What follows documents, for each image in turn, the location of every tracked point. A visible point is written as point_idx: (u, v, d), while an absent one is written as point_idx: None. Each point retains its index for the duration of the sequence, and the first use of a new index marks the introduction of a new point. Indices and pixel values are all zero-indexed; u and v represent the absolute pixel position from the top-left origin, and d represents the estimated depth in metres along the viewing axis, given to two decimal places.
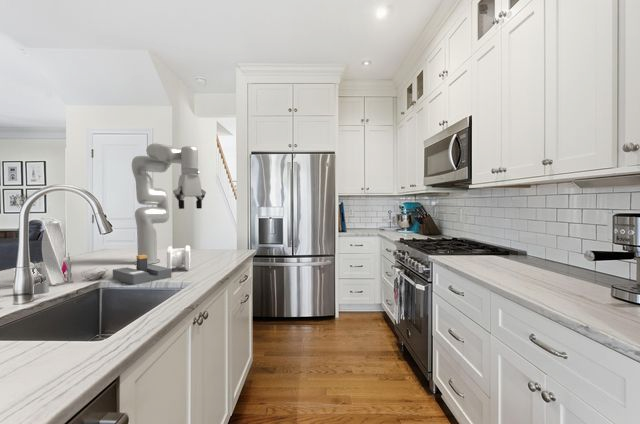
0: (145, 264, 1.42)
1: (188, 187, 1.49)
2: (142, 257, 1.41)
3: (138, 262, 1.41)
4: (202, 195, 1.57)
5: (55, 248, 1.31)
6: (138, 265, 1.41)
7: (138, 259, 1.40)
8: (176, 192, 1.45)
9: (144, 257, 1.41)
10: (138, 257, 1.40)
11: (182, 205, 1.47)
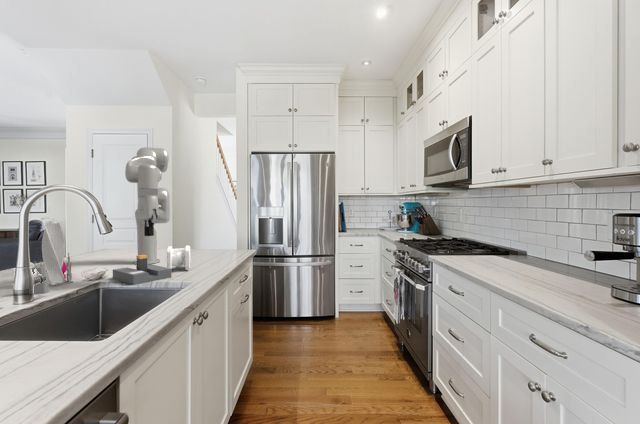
0: (145, 264, 1.42)
1: None
2: (142, 257, 1.41)
3: (138, 262, 1.41)
4: None
5: (55, 248, 1.31)
6: (138, 265, 1.41)
7: (138, 259, 1.40)
8: None
9: (144, 257, 1.41)
10: (138, 257, 1.40)
11: (152, 232, 1.38)
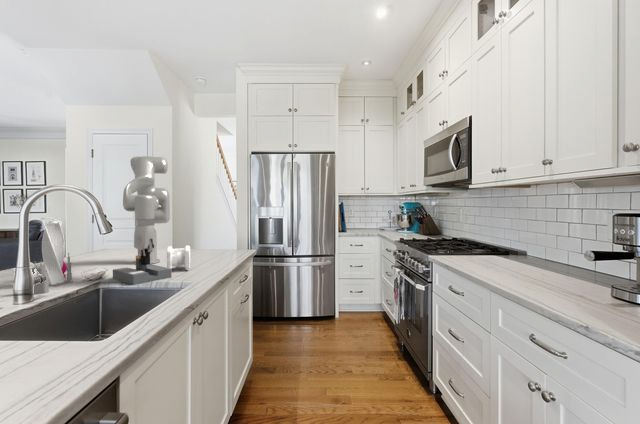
0: None
1: None
2: None
3: (137, 262, 1.41)
4: None
5: (55, 248, 1.31)
6: (137, 265, 1.41)
7: (137, 259, 1.41)
8: None
9: None
10: (137, 257, 1.41)
11: (149, 260, 1.41)
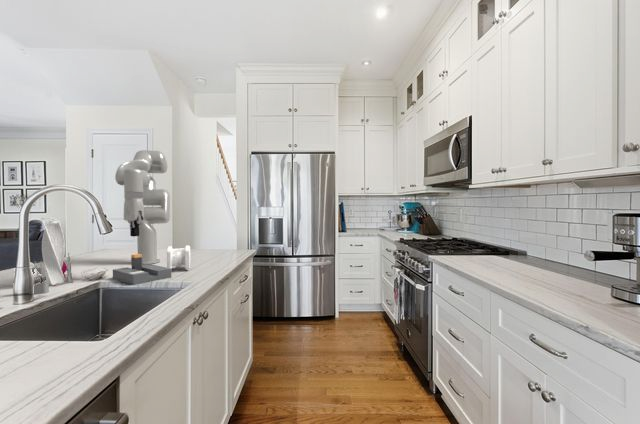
0: (140, 263, 1.45)
1: None
2: (137, 256, 1.44)
3: (133, 261, 1.44)
4: None
5: (55, 248, 1.31)
6: (133, 264, 1.44)
7: (133, 258, 1.43)
8: None
9: (139, 256, 1.44)
10: (133, 256, 1.43)
11: (138, 232, 1.46)
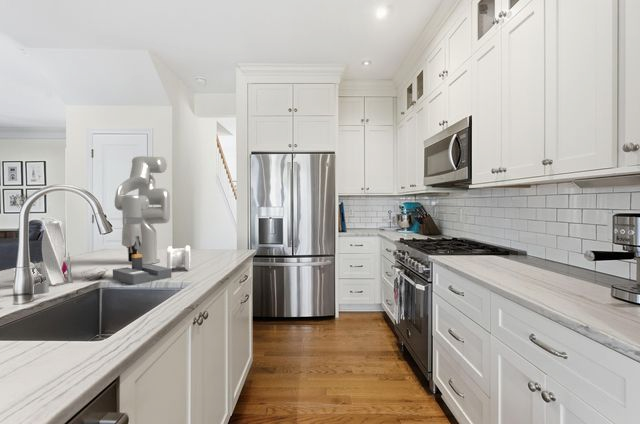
0: (140, 263, 1.45)
1: None
2: (137, 256, 1.44)
3: (133, 261, 1.43)
4: None
5: (55, 248, 1.31)
6: (133, 264, 1.43)
7: (133, 258, 1.43)
8: None
9: (139, 256, 1.44)
10: (133, 256, 1.43)
11: None
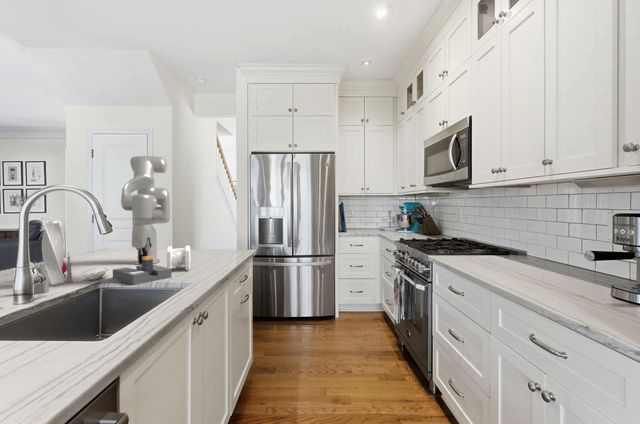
0: (151, 265, 1.39)
1: None
2: (148, 258, 1.38)
3: (144, 263, 1.38)
4: (141, 248, 1.43)
5: (55, 248, 1.31)
6: (144, 266, 1.38)
7: (144, 260, 1.37)
8: None
9: (150, 258, 1.38)
10: (144, 258, 1.37)
11: None
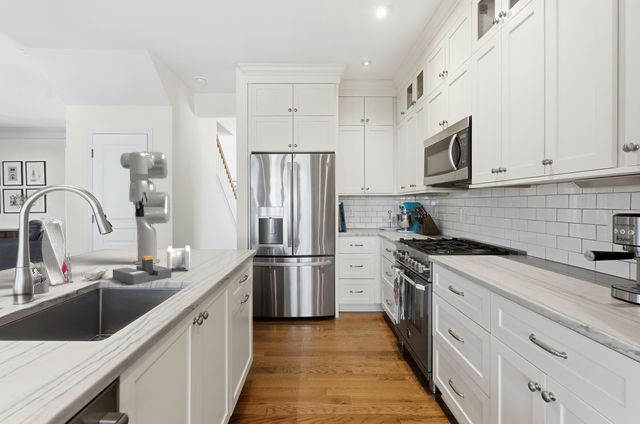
0: (151, 265, 1.39)
1: None
2: (148, 258, 1.38)
3: (144, 263, 1.38)
4: None
5: (55, 248, 1.31)
6: (144, 266, 1.38)
7: (144, 260, 1.38)
8: None
9: (150, 258, 1.39)
10: (144, 258, 1.37)
11: (143, 213, 1.53)
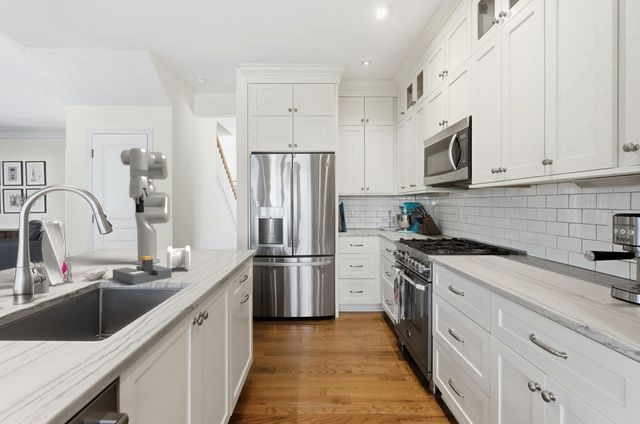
0: (151, 265, 1.39)
1: None
2: (148, 258, 1.38)
3: (144, 263, 1.38)
4: None
5: (55, 248, 1.31)
6: (144, 266, 1.38)
7: (144, 260, 1.38)
8: None
9: (150, 258, 1.39)
10: (144, 258, 1.37)
11: (143, 209, 1.53)
